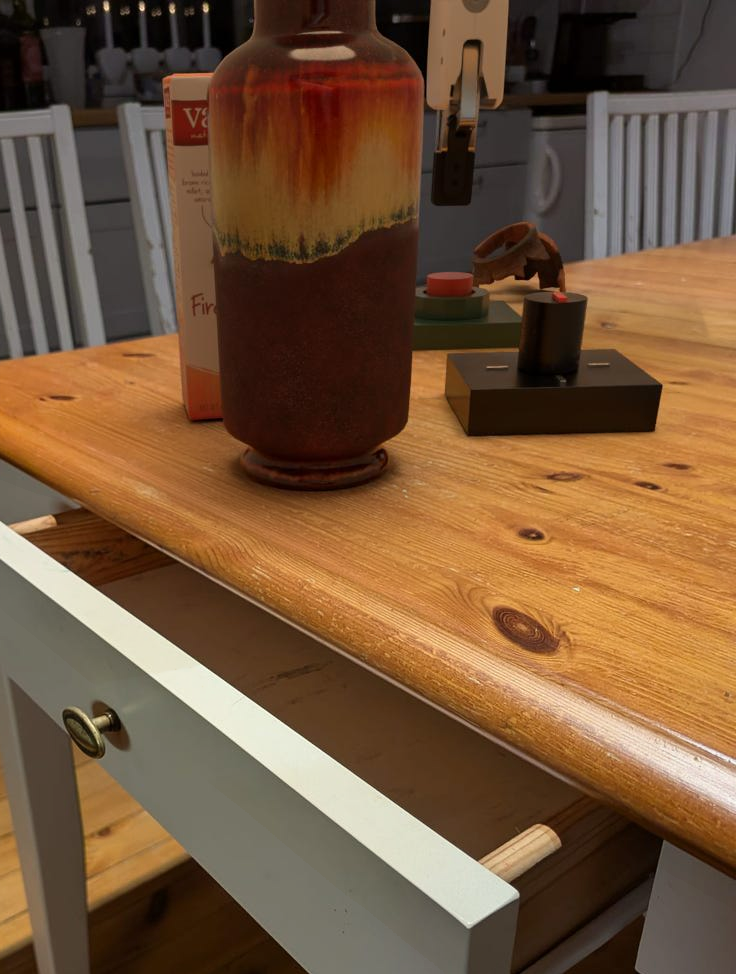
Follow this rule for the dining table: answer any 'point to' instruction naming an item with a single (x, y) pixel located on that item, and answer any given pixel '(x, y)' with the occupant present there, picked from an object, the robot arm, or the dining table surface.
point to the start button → (449, 284)
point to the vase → (315, 240)
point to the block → (464, 322)
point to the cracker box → (193, 242)
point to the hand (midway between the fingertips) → (450, 204)
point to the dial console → (551, 395)
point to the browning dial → (552, 332)
